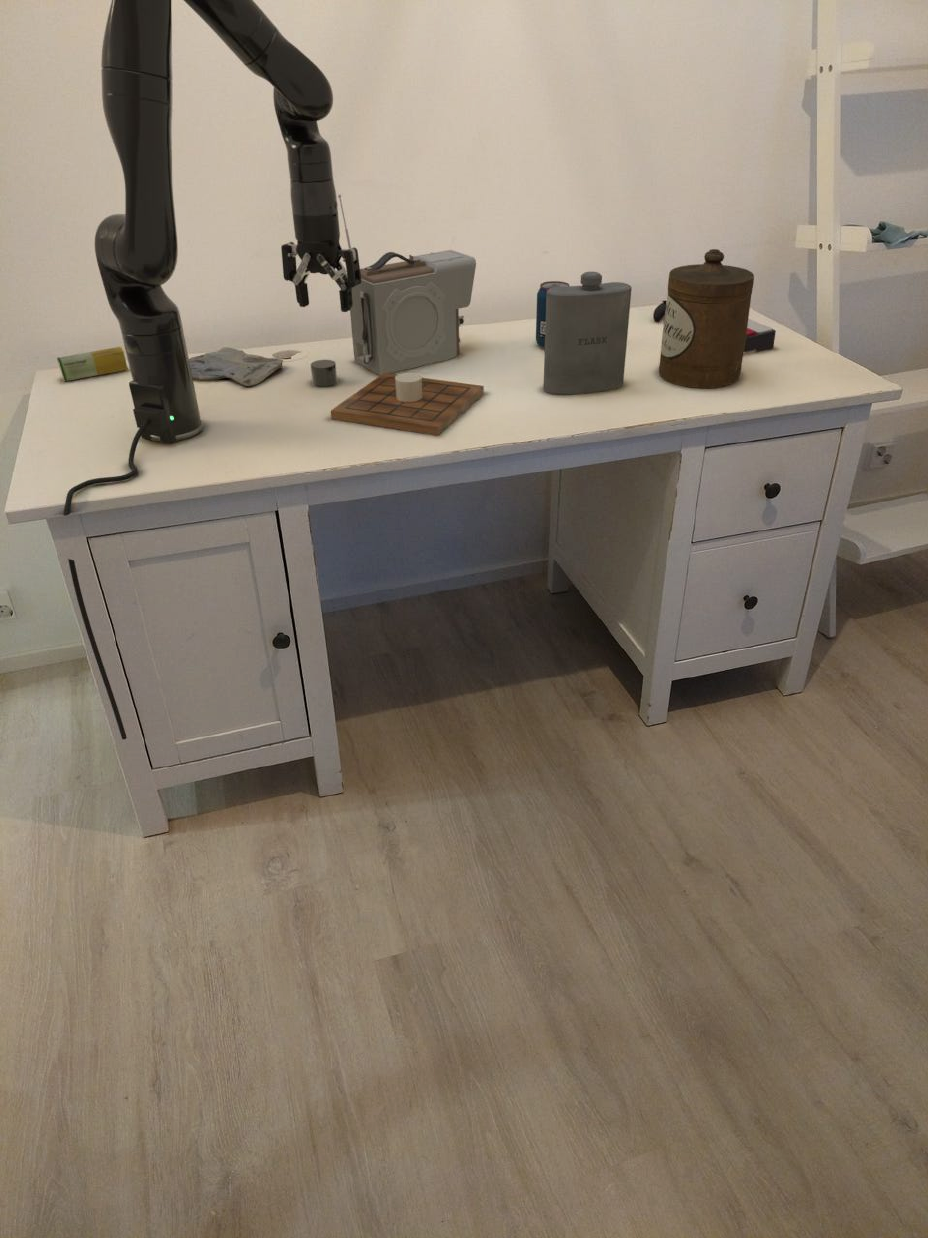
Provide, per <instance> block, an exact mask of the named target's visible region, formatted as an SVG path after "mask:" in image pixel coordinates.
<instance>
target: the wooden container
mask: <svg viewBox="0 0 928 1238" xmlns="http://www.w3.org/2000/svg"><path fill="white" fill-rule="evenodd" d="M703 258H704V262H703V263H701V264H698V263H697V264H686V265H681V266H678V267H674V268H672V269H671V270H670V271H669V274H668V280H667V281H668V282H667V295H666V301H667V302H666V311H665V315H664V318H663V319H664V320H663V326H662V327H663V328H662V333H661V334H662V335H661V345H660V356H659V357H660V358H659V366H658V373H659V376H660V377H661V378H662V379H664V381H667V382H669V383H672V384H675V385H678V386H682V387H688V388H696V389H712V388H722V387H726V386H730V385H732V384H734V383H736V382H738V381H739V379H740V377H741V373H742V365H743V360H744V359H743V358H744V354H745V353H744V348H745V342H746V334H747V326H748V319H749V317H750V309H751V302H752V294H753V289H754V281H755V274H754V272H753V271H750V270H749V269H746V268H744V267H738V266H733V265H727V264H723V263H722V262H723V261H724V259H725V254H724V253H723V252H722V251H721V250H720V249H717V248H712V249H709V250H708V251H706V252H705V253H704V256H703Z"/></svg>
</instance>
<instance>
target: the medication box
mask: <svg viewBox="0 0 928 1238" xmlns="http://www.w3.org/2000/svg"><path fill="white" fill-rule="evenodd" d="M56 360H57V364H58V367H59V371H60V375H61V377H62V380H63V382H68V381H74V380H78V379H83V378H90V377H95V376H101V375H106V374H112V373H117V372H122V371H127V370H129V367H128V365H127V360H126V356H125V352H124V350H123V348H122V347H121V346H117V347H110V348H106V349H105V348H104V349H99V350H94V351H88V352H82V353H77V354H72V355H66V356H60V357H57V358H56Z"/></svg>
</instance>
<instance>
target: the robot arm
mask: <svg viewBox="0 0 928 1238" xmlns="http://www.w3.org/2000/svg"><path fill="white" fill-rule="evenodd" d="M183 2H184V3H186V5H188V7H190V8H191V10H193V12H194V13H195V14H197V15H198V16H199V18H200V19H202V21H203V22H204V23H205V24H206V25H207V26H208V27H209V28H210V29H211V30H212V31H213V32H214V34H216V36H217V37H218V38H219V39H220V40H221V41H222V42H223V43H224V44H225V46H226V47H227V48H228V49H229V50H230V51H231V52H232V53H233V54H234V55H235V56H236V58H238V60H239V61H240V62H241V64H243V65H244V66H245V67H246V68H247V69H248V71H250V72H251V73H253V74H254V75H255V76H257V77H258V78H262V79H263V80H264V81H266V82H268V83H269V84H270V85H271V86H272V87H273V88H272V89H273V91H272V92H273V93H272V99H273V107H274V111H275V116H276V120H277V122H278V126H279V130H280V133H281V136H282V140H283V142H284V145H285V149H286V153H287V165H288V172H289V182H290V184H289V185H290V189H289V193H290V194H289V195H290V204H291V213H292V221H293V230H294V238H295V240H296V242H297V243H296V244H295V242H293V241H289V242H287V243H284V244H281V247H280V248H281V249H280V250H281V261H282V262H281V263H282V273H283V279H284V280H285V281H287V282H288V281H289V282H291V283H293V285H294V289H295V297H296V303H297V304H298V305H299V307H300V308H306V307H307V306H309V305H310V297H309V287H308V283H307V282H306V281H307V280H308V278H309V276H310V274H318V273H319V274H320V275H325V276H326V275H328V276H329V277H330V279H331V280H333V281H335V283H336V284H337V286H338V287H339V289H340V290H338V294H339V302H340V303H339V304H340V312H342V313H348V312H350V309H351V307H352V305H353V301H352V288H353V287H355V286H357V285H359V284H361V273H360V269H361V266H360V259H359V251H358V248H356V247H355V246H354V247H351V249H349V248H342V246H341V244H340V238H341V231H340V220H339V208H338V204H339V203H338V199H337V197H338V196H337V190H336V185H335V180H334V171H333V160H332V153H331V152H332V151H331V147H330V145H329V142H328V141H327V140H326V139H325V138H324V137H323V136H322V134H321V133H320V128H319V124H318V122H319V121H321V120H324V119H325V118H326V117H327V116H329V114H330V113H331V111H332V108H333V105H334V91H333V89H332V85H331V84H330V81H329V79H328V78H327V76H326V74H324V72H323V71H322V70H321V69H320V68H319V67H318V66H317V64H315V63H314V62H313V60H311V59H310V58H309V57H308V56H307V55H306V54H305V53H303V52H302V51H301V50H300V49H299V48H297V46H295V45H294V44H293V43H291V41H289V40H288V39H287V38H286V37H285V36H284V35H283V34H282V32H280V30H279V28H278V27H277V26H276V25H275V24H274V23H273V22H272V21H271V19H270V18H269V16H268V15H267V14H266V13H265V12H264V11H263V9H261V7H260V6H259V5H258V4H257V3H256V2H255V0H183ZM172 9H173V8H172V0H111V3H110V7H109V9H108V10H109V11H108V14H107V19H106V23H105V28H104V34H103V38H102V39H103V40H102V48H101V60H100V61H101V62H100V63H101V64H100V68H101V73H100V74H101V103H102V110H103V115H104V118H105V122H106V125H107V128H108V132H109V134H110V138H111V140H112V143H113V145H114V148H115V151H116V153H117V157H118V159H119V162H120V165H121V169H122V170H121V171H122V174H123V181H124V195H125V196H124V198H125V199H124V200H125V201H124V206H125V207H124V208H125V209H124V210H125V211H124V213H113V214H111V215H108V216H106V217H105V218H104V219H103V220H101V221H100V223H99V224H98V226H97V229H96V231H95V235H94V253H95V258H96V263H97V267H98V271H99V274H100V275H99V276H100V278H101V281H102V285H103V288H104V292H105V296H106V298H107V303H108V305H109V308H110V310H111V312H112V314H113V315H114V317H115V318H116V320H117V322H118V325H119V329H120V333H121V336H122V341H123V346H124V350H125V355H126V359H127V363H128V366H129V367H128V368H129V371H130V375H131V380H130V381H129V382H128V387H129V392H130V395H131V399H132V404H133V407H134V408H133V409H132V411H133V415H134V420H135V424H136V428H138V429H137V431H136V433H135V435H134V437H133V440H132V442H131V446H130V451H129V455H128V463H127V464H128V467H129V469H130V470H131V471H129V472H128V473H125V474H122V475H115V476H105V477H104V476H103V477H96V478H92V479H91V478H90V479H88V480H85V481H83V482H80V483H79V484H77V485H73V487H71V488H70V489H69V490H68V492H67V494H66V497H65V502H64V507H63V516H65V517H66V516H69V515H70V511H71V508H72V507H71V506H72V503H73V497H74V495H75V493H78V491H80V490H83V489H85V488H87V487H89V486H93V485H98V484H103V483H104V484H105V483H118V482H123V481H126V480H129V479H131V478H133V477H135V476H136V475H137V474H138V473H139V470H138V468H137V466H136V465H135V463H134V461H135V454H136V451H137V446H138V443H139V441H140V438H141V439H142V440H143V439H144V440H150V441H155V442H161V443H165V444H166V443H167V444H173V443H175V442H178V441H183V440H185V439H189V438H193V437H194V436H196V435H199V433H201V432H202V430H203V429H204V423H203V421H202V418H201V412H200V408H199V402H198V398H197V393H196V388H195V383H194V379H193V377H192V372H191V367H190V362H189V359H190V357H189V353H188V349H187V348H188V347H187V342H186V338H185V333H184V332H185V331H184V328H183V322H182V316H181V312H180V308H179V307H178V305H177V304H176V303H175V302H174V301H173V300H172V299H171V297H169V296H168V294H167V293H166V292H165V291H164V288H163V287H162V285H164V284H166V283H167V282H168V281H169V280H170V279H171V278H172V276H173V274H174V273H175V270H176V266H177V263H178V256H179V255H178V254H179V246H178V233H177V222H176V211H175V201H174V188H173V184H174V183H173V132H172V131H173V110H174V109H173V104H174V103H173V100H174V99H173V96H174V95H173V94H174V93H173V92H174V91H173V85H174V83H173V81H174V79H173V75H174V74H173V12H172V11H173V10H172ZM297 256H298V257H299V259H300V260H301V261H300V263H299V265H298V267H297ZM341 259H342V261H343V262H344V263H345V266H344V265H343V263H342V261H341ZM67 560H68V561H67V562H68V565H69V570H70V574H71V580H72V585H73V588H74V592H75V596H76V600H77V604H78V608H79V610H80V614H81V618H82V621H83V624H84V628H85V631H86V634H87V637H88V640H89V643H90V646H91V649H92V652H93V655H94V658H95V661H96V664H97V667H98V670H99V672H100V676H101V679H102V681H103V684H104V688H105V690H106V693H107V696H108V699H109V702H110V706H111V708H112V711H113V714H114V718H115V721H116V724H117V727H118V731H119V733H120V737H121V739H122V740H126V739H128V737H127V734H126V730H125V726H124V723H123V721H122V718H121V714H120V710H119V707H118V705H117V702H116V699H115V696H114V691H113V689H112V686H111V683H110V680H109V677H108V675H107V671H106V668H105V665H104V663H103V660H102V657H101V654H100V650H99V648H98V645H97V641H96V638H95V636H94V632H93V628H92V626H91V622H90V618H89V616H88V612H87V609H86V605H85V602H84V601H85V600H84V598H83V594H82V590H81V586H80V581H79V577H78V572H77V568H76V562H75V559H70V558H68V559H67Z"/></svg>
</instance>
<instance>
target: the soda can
mask: <svg viewBox="0 0 928 1238" xmlns="http://www.w3.org/2000/svg"><path fill="white" fill-rule="evenodd" d="M559 286H570V283H568V282H565V281H559V280H550V281H549V280H548V281H544V282H542V283H540V284H539V289H538V290H537V293H536V313H535V314H536V315H535V316H536V319H535V342H536V343H537V345H538V347H539V348H540V349H543V350H545V326H546V297H547V290H548V289H550V288H553V287H559Z"/></svg>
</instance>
